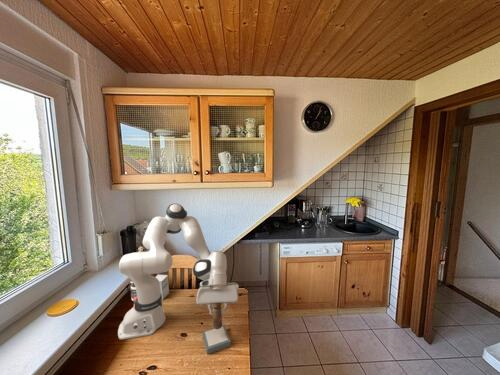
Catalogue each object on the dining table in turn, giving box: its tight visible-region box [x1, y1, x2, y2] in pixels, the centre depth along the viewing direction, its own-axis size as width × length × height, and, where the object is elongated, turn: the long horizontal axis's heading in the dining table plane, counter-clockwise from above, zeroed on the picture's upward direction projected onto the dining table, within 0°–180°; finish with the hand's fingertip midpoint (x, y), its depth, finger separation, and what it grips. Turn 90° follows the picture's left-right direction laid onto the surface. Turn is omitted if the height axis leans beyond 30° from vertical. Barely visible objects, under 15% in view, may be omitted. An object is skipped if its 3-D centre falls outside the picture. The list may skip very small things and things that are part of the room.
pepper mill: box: [212, 303, 223, 329], centre depth 103 cm, size 4×4×11 cm
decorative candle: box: [129, 279, 137, 301], centre depth 137 cm, size 9×9×25 cm
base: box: [201, 324, 232, 355], centre depth 104 cm, size 11×11×3 cm
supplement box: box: [155, 273, 170, 301], centre depth 138 cm, size 7×7×13 cm
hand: (217, 314), depth 102 cm, fingers closed on pepper mill, 4 cm apart
